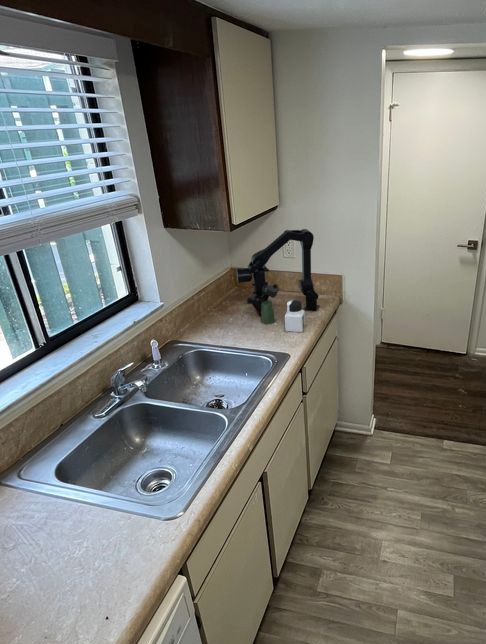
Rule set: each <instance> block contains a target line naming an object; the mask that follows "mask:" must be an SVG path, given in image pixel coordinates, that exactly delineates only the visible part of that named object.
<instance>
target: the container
mask: <svg viewBox="0 0 486 644" xmlns="http://www.w3.org/2000/svg"><path fill="white" fill-rule="evenodd" d="M305 326H306V310H304V309H303V305H302V302H301V301H300V300H297V299H293V300H292V299H291V300H289V301H287V303H286V313H285V315H284V329H285V330H284V331H285V332H290V333H291V332H292V333H303V331H304V329H305Z"/></svg>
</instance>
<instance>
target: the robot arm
mask: <svg viewBox="0 0 486 644" xmlns="http://www.w3.org/2000/svg"><path fill="white" fill-rule="evenodd" d="M314 239H315V236H314V234H313V233H312V232H311V231H310V230H309V229H308V228H302V229H286V230H284V231H283V233H282V234H280V235H279V236H278V237H277V238H276V239H274V240H273V241H272V242H271V243H270V244H268V245H267V246H266V247H265V248H263V249H260V250H259V251H257V252H255V253H253V254H252V255H251V258H250V261H249V263H248V265H247V267H237V268H236V281H237V284H243V283H251V281H252V280H253V282H252V283H251V285H252V287H253V289H254V290H253V291H252V294H251V295H250V296H249V297H247V298H246V304H247V305H248V304H249V305H252V306H253V308H254V310H255V309H256V311H257V312H258V314H257V315H261V314H260V313H261V303H262V302H263V301H269V298H275V297H277V295H278V292H279V291H280V288H279V285H278V283H274V284H273V285H272V284H271V285H270V284H269V281H267V277H266V273H268V272H270V269H269V268H268V266H266V264H268V262H269V260H270V259H271V257H272V256H273V255H275V254H276V253H277V252H279V250H280V249H281V248H282V247H284V245H286V244H288V242H289V241H295V242H299V244H300V247H301V271H302V272H301V273H302V274H301V275H302V276H301V279H298V289H299V290H300V291H301V293H302V295H304V297H305V298H304V300H305V306H304V308H303V310H305V311H310V312H311V311H312V312H316V311H317V310H318V309H319V308H320V305H319V304H318V300H319V296H320V295H319V293H318V292H317V291H316V290H315V288H314V283H313V279H312V248H313V244H314Z"/></svg>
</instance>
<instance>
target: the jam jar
mask: <svg viewBox="0 0 486 644" xmlns="http://www.w3.org/2000/svg"><path fill="white" fill-rule="evenodd" d="M261 305H262V308H261V314H260V315H261V322H262V324H263V325H270V324H273V323H275V309H274V305H273V302H272V301H271V300H268V301H263V302H262V303H261Z"/></svg>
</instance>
